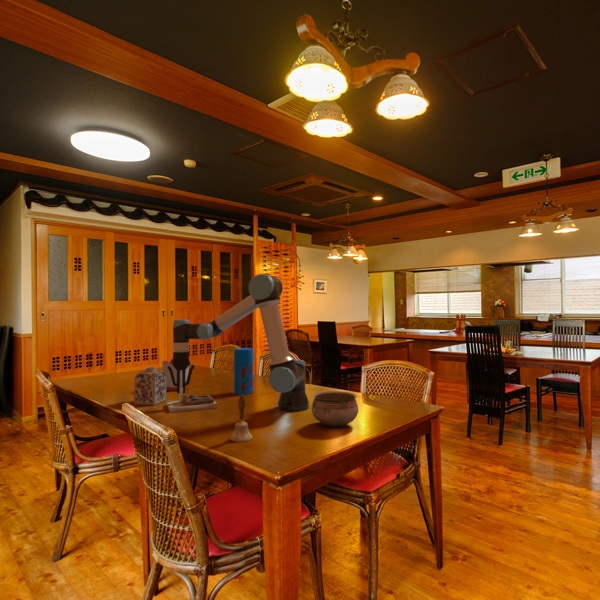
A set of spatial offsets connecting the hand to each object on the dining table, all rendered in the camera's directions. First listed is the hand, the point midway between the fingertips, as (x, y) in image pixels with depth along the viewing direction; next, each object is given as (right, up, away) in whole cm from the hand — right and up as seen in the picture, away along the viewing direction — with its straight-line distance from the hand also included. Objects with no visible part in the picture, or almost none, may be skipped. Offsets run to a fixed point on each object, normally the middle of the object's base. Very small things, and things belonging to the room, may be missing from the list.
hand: (180, 399), depth 193 cm
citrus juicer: (-17, -5, +46) cm, 49 cm away
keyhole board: (+5, -4, +2) cm, 6 cm away
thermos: (+26, -5, +34) cm, 43 cm away
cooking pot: (+72, -3, -31) cm, 79 cm away
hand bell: (+36, -3, -47) cm, 59 cm away
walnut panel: (+7, -2, +3) cm, 8 cm away
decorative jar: (-19, -4, +11) cm, 23 cm away
